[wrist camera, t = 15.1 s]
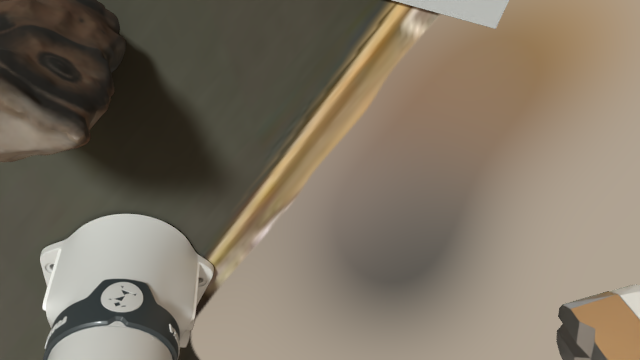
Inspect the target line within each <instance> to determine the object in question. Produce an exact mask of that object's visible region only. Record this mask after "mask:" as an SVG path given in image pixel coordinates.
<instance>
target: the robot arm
mask: <svg viewBox="0 0 640 360" xmlns="http://www.w3.org/2000/svg"><path fill="white" fill-rule="evenodd" d="M40 262H41V266H42V270H43V273H44V277H45V281H46V284H47V291H46V294H45V298H44V301H43V310H45V311H46V315H47V319H48V321H49V324H50V326H51V328H52V329H51V331H50V333H49V335H48V338H47V341H46V344H45V348H46V349H45V353H44V357H43V360H178V357H179V353H180V347H182V348H184V347H186V346H187V344H188V341H189V337H190V331H191V330H192V329H193V326H194V318H195V314H196V306H197V305H198V303H199V301H200V299H201V297H202V295H203V293H204V292H205V290H206V288H207V286H208V284H209V282H210V280H211V279H212V277H213V272H214V267H213V265H212V264H211V263H210V262H209V261H207V260H206V259H204V258H203V257H201V256H200V255H198V254H197V253H196V252H195V250H194V249H193V247H192V246H191V244H190V242H189V241H188V240H187V238H186V237H185V236H184V235H183V234H182V233H181V232H180V231H178V230H177V229H176V228H174V227H173V226H171V225H169V224H167V223H165V222H163V221H161V220H158V219H155V218H152V217H148V216H144V215H137V214H116V215H109V216H105V217H101V218H98V219H95V220H93V221H91V222H88V223H87V224H85V225H83V226H82V227H80V228H79V229H78V230H77V231H75V232H74V233H73V234H72V235H71V236H70V237H69V238H67V239H66V240H64V241H61V242H58V243H55V244H52V245H49V246H47V247H45V248H44V249H43V250H42V252H41V256H40ZM53 264H54V265H53ZM199 278H201V279H199ZM558 317H559V318H560V320H561V321H562V323H563V324H562V325H561V327H560V328H559V329H558V330H557V345H558V348H559V352H560V355H561V357H562V359H563V360H640V286H639V285H630V286H627V287H623V288H620V289H617V290H613V291H610V292H609V291H607V292H603V293H600V294H597V295H593V296H590V297H587V298H583V299H580V300H576V301H573V302H570V303H566V304H563V305H562V306H561V307H560V308H559V315H558Z"/></svg>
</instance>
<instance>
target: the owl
mask: <svg viewBox="0 0 640 360" xmlns="http://www.w3.org/2000/svg"><path fill="white" fill-rule="evenodd" d="M119 30H120V26H119V22H118V19H117V17H116V16H115V15H114V14H113V13H112V12H110V11H109V10H107V9H105V7H104V5H103V4H102V3H100V2H98V1H97V0H0V162H13V161H17V160H21V159H24V158H27V157H30V156H33V155H51V154H55V153H59V152H62V151H65V150H70V149H75V148H78V147H81V146H83V145H85V144H87V143H88V142H89V140H90V139H91V135H90V129H91V128H92V127H93V126H94V124H95V123H96V122H97V121H98V119H99V118H100V117H101V116H102V115H103V114H104V113H105V112H106V111H107V109H108V105H109V103H110V101H111V98H110V97H111V96H112V95H113V94H114V91H115V89H114V83H113V79H112V74H111V73H112V72H113V71H114V70H115V69H116V68H117V67H118V66H119V64H120V63H121V61H122V59H123V56H124V53H125V50H126V41H125V39H124V37H123V36H120V35H118V34H119Z"/></svg>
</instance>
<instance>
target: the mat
mask: <svg viewBox="0 0 640 360" xmlns="http://www.w3.org/2000/svg"><path fill="white" fill-rule="evenodd" d="M393 1H396V2H400V3H404V4H407V5H411V6H414V7H418V8H422V9H425V10H429V11H433V12H436V13H440V14H443V15H447V16H451V17H454V18H458V19H462V20H465V21H469V22H472V23H476V24H480V25H483V26H487V27H491V28H494V29H496V27H497V25H498V22H499V20H500V18H501V16H502V14H503V12H504V10H505V8H506V6H507V4H508V2H509V0H393Z"/></svg>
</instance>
